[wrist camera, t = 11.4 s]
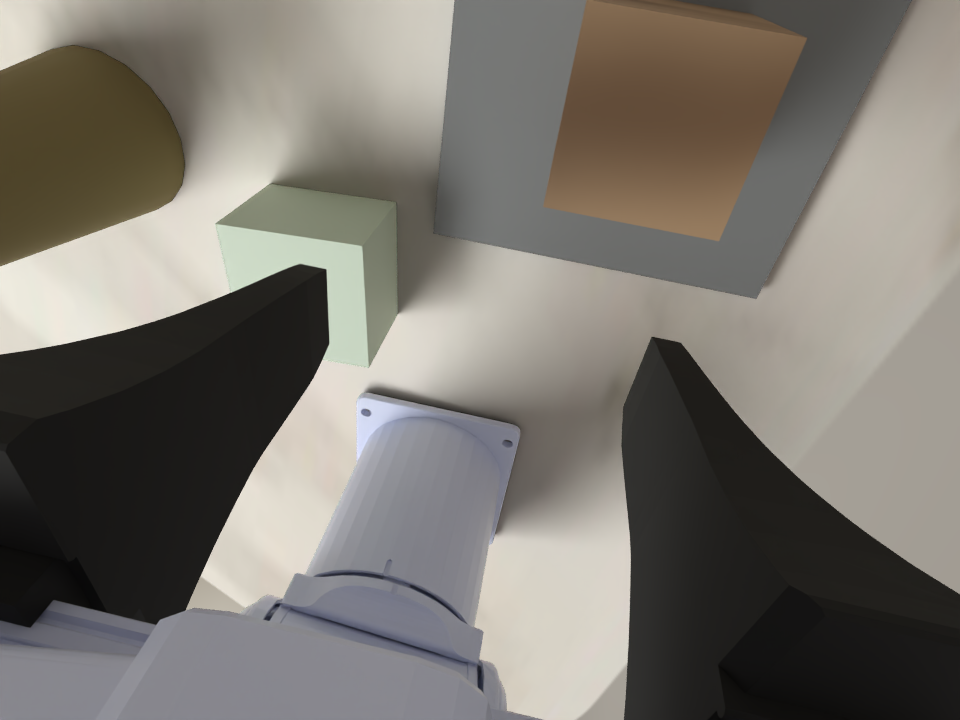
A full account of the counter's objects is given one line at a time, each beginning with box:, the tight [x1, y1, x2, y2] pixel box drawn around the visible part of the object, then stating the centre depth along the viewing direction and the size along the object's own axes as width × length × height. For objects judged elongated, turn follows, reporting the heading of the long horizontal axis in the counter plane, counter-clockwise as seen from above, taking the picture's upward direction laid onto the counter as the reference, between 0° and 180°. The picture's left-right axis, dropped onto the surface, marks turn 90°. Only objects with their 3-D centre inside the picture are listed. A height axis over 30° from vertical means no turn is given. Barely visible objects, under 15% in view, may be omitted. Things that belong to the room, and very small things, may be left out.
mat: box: [434, 0, 912, 299], centre depth 17 cm, size 12×12×1 cm
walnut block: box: [543, 0, 807, 241], centre depth 15 cm, size 4×4×5 cm
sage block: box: [215, 184, 398, 368], centre depth 21 cm, size 5×5×4 cm
